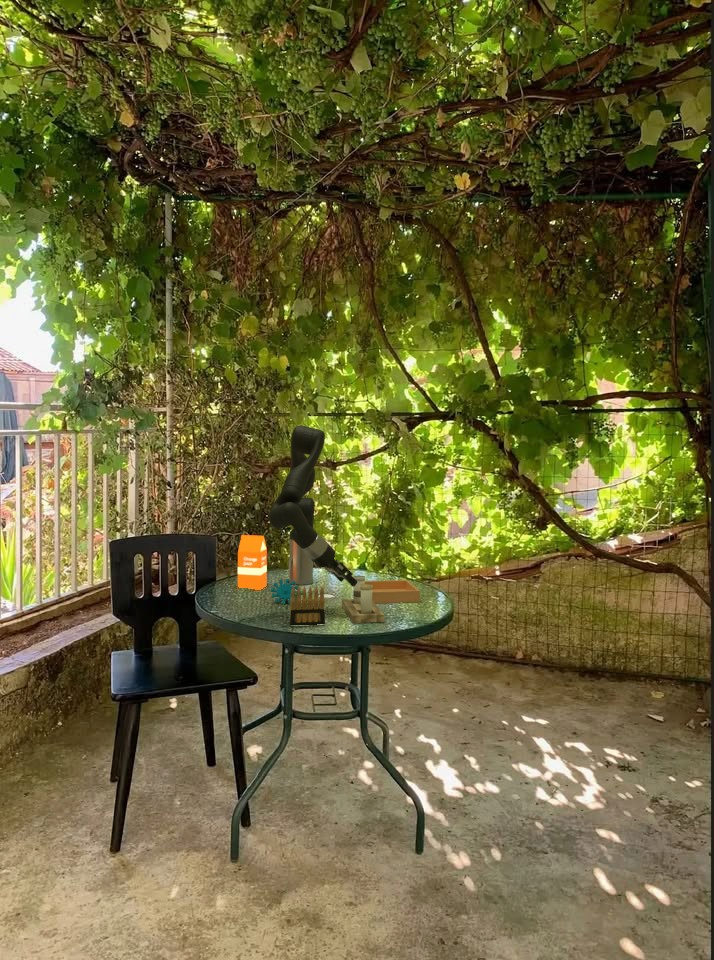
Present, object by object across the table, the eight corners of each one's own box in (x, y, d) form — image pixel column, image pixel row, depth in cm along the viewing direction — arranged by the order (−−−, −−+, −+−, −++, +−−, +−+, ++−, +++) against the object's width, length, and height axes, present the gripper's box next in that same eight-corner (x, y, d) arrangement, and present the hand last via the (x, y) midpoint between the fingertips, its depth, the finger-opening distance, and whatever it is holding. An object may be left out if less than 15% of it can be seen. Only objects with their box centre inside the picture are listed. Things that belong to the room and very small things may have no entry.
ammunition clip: (289, 626, 212) (290, 587, 211) (289, 625, 214) (289, 586, 213) (325, 625, 214) (325, 586, 213) (324, 623, 215) (324, 585, 215)
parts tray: (369, 603, 241) (369, 592, 241) (359, 591, 259) (360, 581, 259) (420, 602, 245) (420, 590, 244) (407, 590, 262) (407, 580, 262)
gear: (268, 600, 237) (273, 575, 244) (268, 609, 242) (273, 584, 248) (300, 605, 237) (305, 580, 244) (299, 614, 242) (304, 589, 249)
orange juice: (260, 591, 257) (260, 537, 256) (237, 590, 259) (237, 536, 258) (266, 586, 265) (267, 534, 264) (244, 585, 267) (244, 533, 265)
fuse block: (352, 623, 216) (352, 615, 216) (341, 606, 237) (342, 599, 237) (384, 622, 218) (384, 614, 218) (371, 605, 238) (371, 598, 238)
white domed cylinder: (353, 610, 231) (354, 577, 231) (351, 607, 235) (352, 575, 234) (365, 610, 232) (366, 577, 231) (363, 607, 236) (363, 575, 235)
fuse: (361, 621, 219) (361, 586, 218) (358, 618, 222) (359, 583, 222) (373, 621, 219) (373, 586, 219) (370, 617, 223) (371, 583, 222)
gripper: (335, 544, 220) (366, 577, 226) (316, 538, 232) (346, 569, 239) (320, 562, 218) (352, 595, 224) (301, 555, 230) (332, 586, 236)
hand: (349, 582), depth 231 cm, fingers open, 8 cm apart
